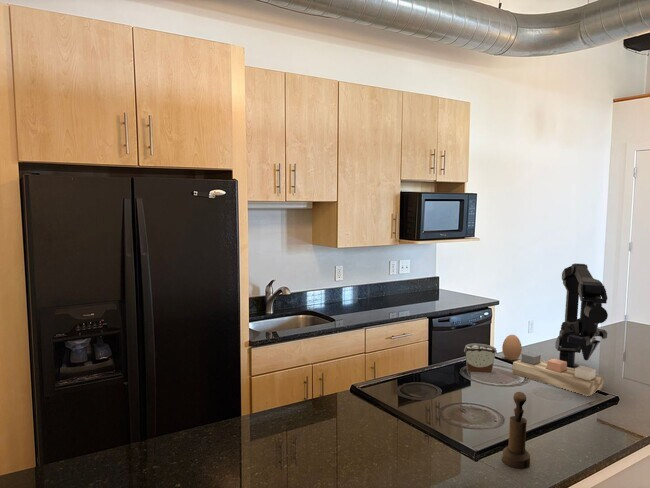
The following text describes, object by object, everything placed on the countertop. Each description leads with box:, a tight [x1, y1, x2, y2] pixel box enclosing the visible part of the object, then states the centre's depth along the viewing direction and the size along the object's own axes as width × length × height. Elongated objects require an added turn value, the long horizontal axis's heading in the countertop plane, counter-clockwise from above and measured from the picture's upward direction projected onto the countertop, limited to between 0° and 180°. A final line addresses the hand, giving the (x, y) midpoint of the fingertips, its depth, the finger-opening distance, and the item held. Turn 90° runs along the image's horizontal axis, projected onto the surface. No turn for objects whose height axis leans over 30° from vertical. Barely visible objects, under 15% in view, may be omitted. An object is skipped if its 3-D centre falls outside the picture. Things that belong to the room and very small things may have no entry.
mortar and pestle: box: [501, 391, 531, 469], centre depth 122 cm, size 7×6×18 cm
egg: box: [501, 334, 523, 362], centre depth 204 cm, size 8×8×11 cm
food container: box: [463, 343, 498, 375], centre depth 190 cm, size 12×6×10 cm, turn 84°
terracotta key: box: [547, 358, 567, 372], centre depth 180 cm, size 5×5×3 cm
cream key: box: [574, 365, 597, 381], centre depth 173 cm, size 5×5×3 cm
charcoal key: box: [521, 351, 542, 365], centre depth 188 cm, size 5×5×3 cm
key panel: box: [511, 358, 605, 396], centre depth 181 cm, size 12×28×4 cm, turn 39°
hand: (586, 360), depth 172 cm, fingers closed
